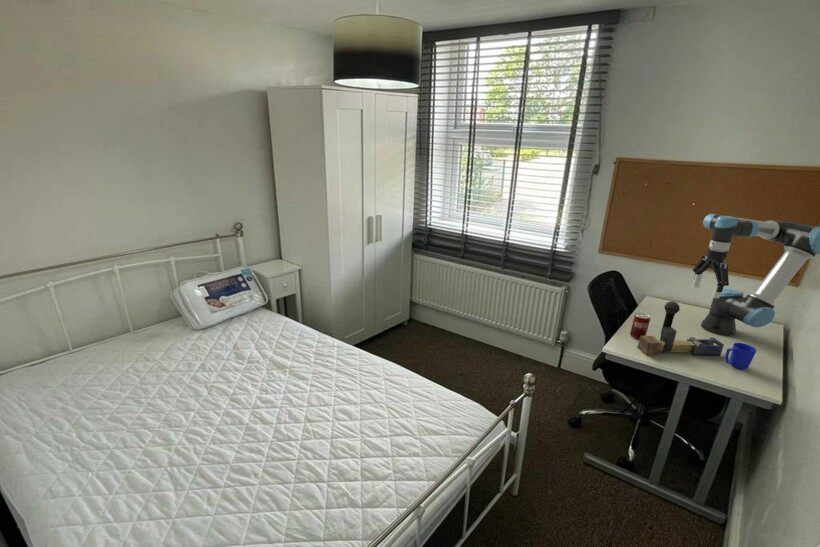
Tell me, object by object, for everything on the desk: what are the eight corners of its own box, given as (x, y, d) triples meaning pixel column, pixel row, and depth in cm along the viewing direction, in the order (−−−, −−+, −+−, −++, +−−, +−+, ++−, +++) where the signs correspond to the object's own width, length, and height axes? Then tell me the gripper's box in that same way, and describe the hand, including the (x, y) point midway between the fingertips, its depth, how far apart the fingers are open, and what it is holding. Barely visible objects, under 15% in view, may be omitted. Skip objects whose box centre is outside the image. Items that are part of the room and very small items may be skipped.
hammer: (693, 347, 195) (700, 327, 191) (699, 352, 191) (706, 331, 188) (644, 346, 195) (649, 326, 191) (649, 351, 191) (654, 330, 187)
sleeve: (710, 349, 197) (713, 337, 195) (720, 356, 191) (724, 344, 189) (684, 348, 197) (687, 337, 195) (693, 355, 191) (697, 343, 188)
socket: (650, 347, 197) (653, 335, 194) (658, 355, 190) (662, 343, 188) (637, 347, 196) (640, 335, 194) (645, 355, 190) (648, 342, 188)
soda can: (647, 340, 203) (653, 319, 199) (632, 339, 205) (637, 317, 201) (642, 334, 210) (647, 313, 206) (627, 332, 211) (632, 311, 207)
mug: (714, 361, 186) (721, 342, 183) (738, 361, 187) (745, 342, 184) (729, 371, 178) (736, 352, 175) (754, 371, 179) (761, 351, 176)
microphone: (661, 333, 212) (670, 298, 205) (674, 338, 206) (684, 303, 200) (653, 335, 209) (663, 300, 202) (666, 341, 204) (676, 305, 197)
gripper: (691, 242, 195) (680, 282, 202) (730, 257, 172) (716, 302, 179) (706, 242, 195) (695, 283, 202) (747, 258, 172) (733, 303, 179)
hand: (705, 292), depth 191 cm, fingers open, 13 cm apart
